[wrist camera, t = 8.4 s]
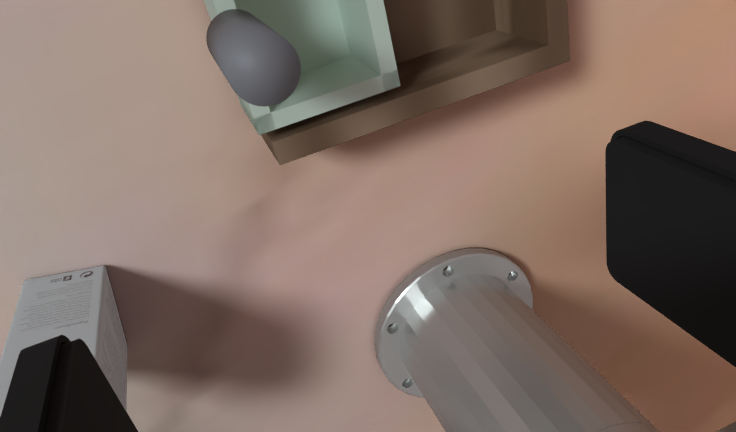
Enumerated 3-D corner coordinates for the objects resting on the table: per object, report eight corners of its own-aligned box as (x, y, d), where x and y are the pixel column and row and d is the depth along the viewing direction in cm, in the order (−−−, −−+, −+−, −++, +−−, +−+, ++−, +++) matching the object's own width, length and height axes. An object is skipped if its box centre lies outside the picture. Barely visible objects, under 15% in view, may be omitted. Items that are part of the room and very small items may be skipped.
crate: (324, -109, 27) (424, -126, 18) (363, 64, 32) (461, 122, 22) (161, -65, 26) (179, -59, 17) (226, 110, 30) (269, 193, 21)
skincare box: (20, 278, 31) (-33, 447, 21) (106, 262, 32) (95, 414, 22) (52, 366, 34) (18, 552, 24) (129, 348, 35) (129, 518, 25)
